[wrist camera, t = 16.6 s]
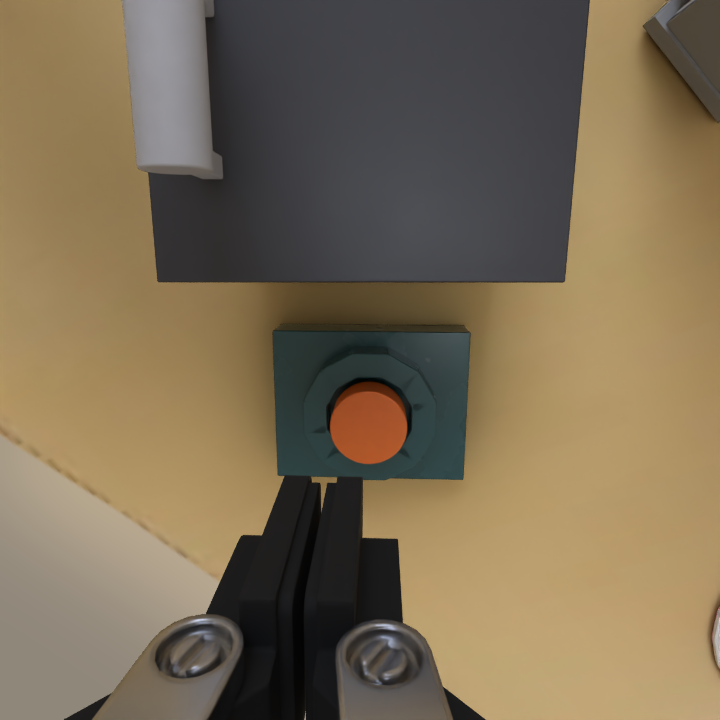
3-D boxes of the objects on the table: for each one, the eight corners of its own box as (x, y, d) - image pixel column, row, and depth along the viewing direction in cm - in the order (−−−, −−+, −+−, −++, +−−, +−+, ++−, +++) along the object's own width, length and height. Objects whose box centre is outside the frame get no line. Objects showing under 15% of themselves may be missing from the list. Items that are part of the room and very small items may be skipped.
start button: (333, 449, 27) (330, 463, 25) (332, 380, 26) (329, 390, 24) (405, 451, 27) (406, 465, 25) (406, 381, 26) (408, 391, 24)
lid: (165, 280, 18) (91, 298, 13) (132, -122, 16) (24, -300, 10) (556, 280, 18) (636, 298, 13) (590, -116, 16) (707, -286, 11)
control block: (284, 459, 31) (270, 491, 27) (280, 323, 29) (264, 337, 25) (458, 463, 31) (468, 496, 27) (464, 325, 29) (477, 339, 25)
